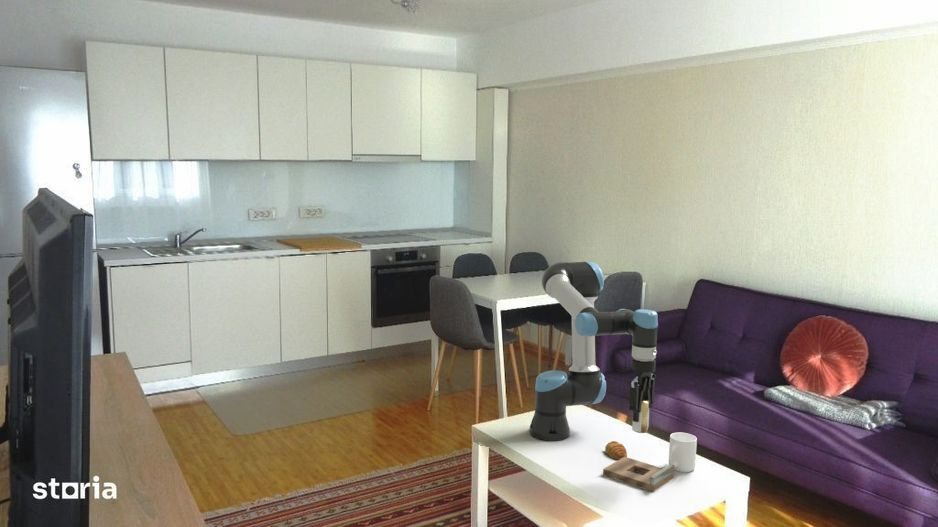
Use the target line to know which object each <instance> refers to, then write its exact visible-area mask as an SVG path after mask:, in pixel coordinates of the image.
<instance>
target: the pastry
mask: <svg viewBox="0 0 938 527" xmlns="http://www.w3.org/2000/svg"><path fill="white" fill-rule="evenodd" d="M604 448H605V449H604V450H605V453H606V454H607V455H608V456H610V457H611V458H612V459H615V460H617V461H618V460H620V459H621V458H623V457H627V458H628V451H627V448H626V447H625V446H624V444H623V443H620V442H619V441H617V440H612V441H610V442H607V444H606V445H605V446H604Z"/></svg>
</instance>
